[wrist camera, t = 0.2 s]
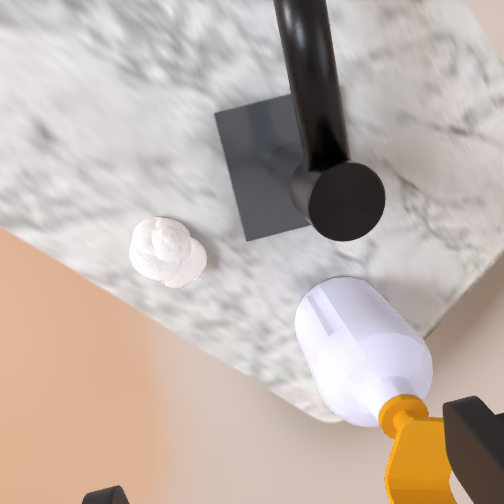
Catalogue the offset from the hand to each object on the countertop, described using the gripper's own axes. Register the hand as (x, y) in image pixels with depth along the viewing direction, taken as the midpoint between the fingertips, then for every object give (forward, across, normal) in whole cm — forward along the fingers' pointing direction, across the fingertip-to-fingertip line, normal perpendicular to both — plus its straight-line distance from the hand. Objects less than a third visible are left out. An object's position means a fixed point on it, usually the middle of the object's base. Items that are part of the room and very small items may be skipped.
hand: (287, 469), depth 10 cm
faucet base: (+29, -6, -2) cm, 30 cm away
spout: (+18, -6, -9) cm, 21 cm away
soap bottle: (+29, -8, +14) cm, 33 cm away
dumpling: (+29, +6, +2) cm, 30 cm away
